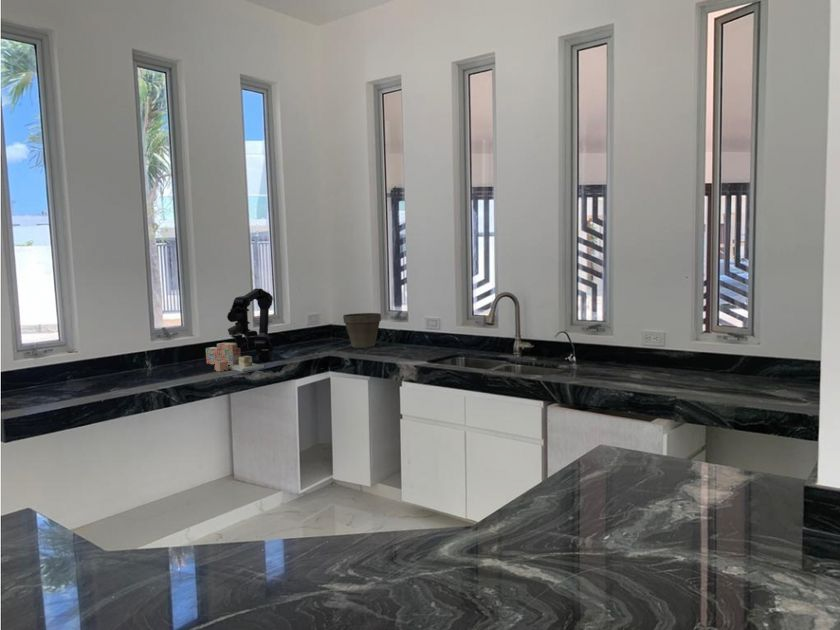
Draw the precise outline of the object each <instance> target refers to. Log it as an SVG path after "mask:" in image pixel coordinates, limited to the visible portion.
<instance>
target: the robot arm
mask: <svg viewBox="0 0 840 630" xmlns="http://www.w3.org/2000/svg"><path fill="white" fill-rule="evenodd" d="M273 298H274V297H273V294H271V293H270V292H268V291H266V290H264V289H263V288H261V287H259V288H253V289H252V291H249V292H248V293H246V294H245V295H243V296H241V295H240V296H237V297H235V298H234V300H233V302H232V305H231V308H230V310H229V312H228V313H227V316H226V318H227V320H228V321H229V322H230V323H234V325H233V326H231V327H229V328H227V332H228V336H230V337H232V338H233V339H234V343H236V344H237V347H238V348H240V349H241V346H242V342H243V341H242V340H243V336H244V339H245V340H246V346H247V349H248V350H250V349H251V347H252V346H253V343H254V347H255V351H256V352H257V353H258V360H257V363H263V364H266V363H269V362H274V359H273V360H272V352H273V351H274V349H275V347H274V346H273V343H271V338H270V336H269V334H268V333H269V316H270V312H269V311H270V308H271V307H272V306H273V305H272V304H273V301H274V299H273ZM254 300H256V301H257V305H258V307H259V322H258V323H259V327H258V329H259V331H257V330H253V329H252V330H251V329H250V328H249V324H250V321H249V320H248V319H249V317H248V312H249V311H250V310H249V306H250V305H251V302H253V301H254ZM254 341H255V342H254Z"/></svg>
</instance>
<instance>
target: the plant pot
mask: <svg viewBox="0 0 840 630" xmlns="http://www.w3.org/2000/svg"><path fill="white" fill-rule="evenodd" d="M381 321H382V314H381V313H380V312H379V313H378V312H362V313H360V312H359V313H349V314H348V313H347V314H343V323H344V324H345V327H346V331H347V334H348V337H349V340H350V344H351V347H352V348H356V349H358V348H359V349H362V348H363V349H364V348H372V347H375V345H376V341H377V337H378V332H379V327H380V322H381Z"/></svg>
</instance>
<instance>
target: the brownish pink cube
mask: <svg viewBox="0 0 840 630" xmlns="http://www.w3.org/2000/svg"><path fill="white" fill-rule="evenodd" d="M214 364H215V365H214ZM214 364H213V365H214V371H215V370H216V371H215V372H219V371H221V372H225V371H224V370H227V371H229V369H228V361H216V362H214Z"/></svg>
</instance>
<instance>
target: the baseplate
mask: <svg viewBox="0 0 840 630" xmlns="http://www.w3.org/2000/svg"><path fill="white" fill-rule="evenodd" d="M264 368H265V365H264V364H257V363H253V362H252V366H247V367H242V366H239V365H234V366H228V370H229V369H231V370H230V371H235V370H237V371H236V372H242V373H243V372H247V371H254V370H259V369H264Z"/></svg>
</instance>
